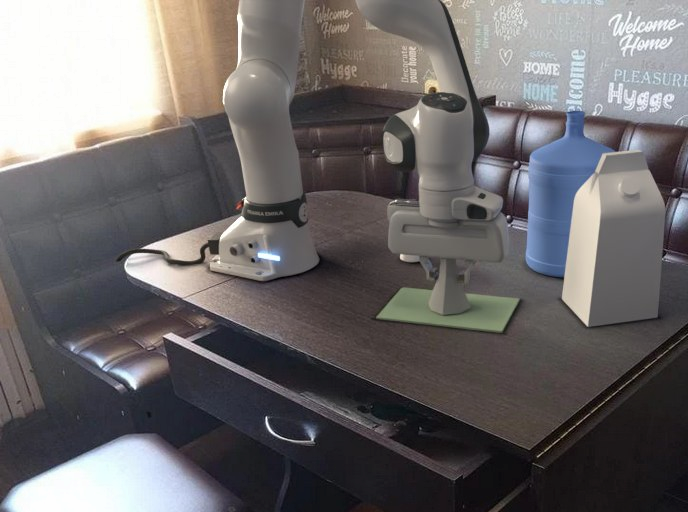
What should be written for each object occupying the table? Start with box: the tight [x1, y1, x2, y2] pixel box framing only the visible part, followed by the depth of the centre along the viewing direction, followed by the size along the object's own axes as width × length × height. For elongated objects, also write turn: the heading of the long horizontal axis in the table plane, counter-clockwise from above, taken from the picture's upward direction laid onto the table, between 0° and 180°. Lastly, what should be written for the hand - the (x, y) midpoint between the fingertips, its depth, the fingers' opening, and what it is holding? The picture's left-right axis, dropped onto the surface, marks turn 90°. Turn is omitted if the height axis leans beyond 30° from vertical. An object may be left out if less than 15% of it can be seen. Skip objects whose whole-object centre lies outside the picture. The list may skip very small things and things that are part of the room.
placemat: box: [375, 286, 521, 334], centre depth 134 cm, size 22×13×1 cm, turn 69°
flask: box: [428, 258, 471, 315], centre depth 131 cm, size 7×7×10 cm
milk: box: [561, 149, 666, 328], centre depth 124 cm, size 12×12×26 cm
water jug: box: [525, 110, 616, 279], centre depth 141 cm, size 16×16×28 cm
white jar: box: [399, 254, 420, 263], centre depth 154 cm, size 5×3×5 cm
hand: (448, 280), depth 131 cm, fingers open, 4 cm apart
